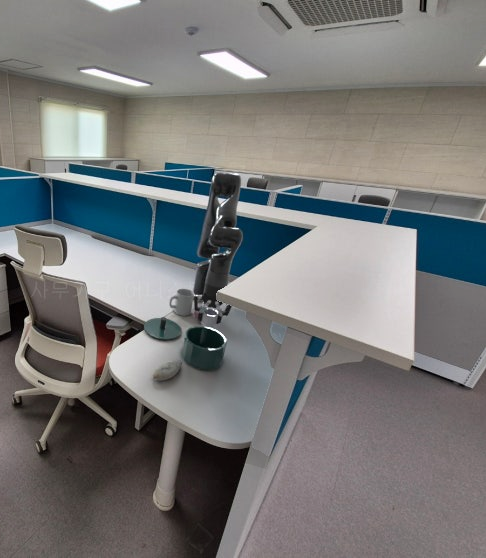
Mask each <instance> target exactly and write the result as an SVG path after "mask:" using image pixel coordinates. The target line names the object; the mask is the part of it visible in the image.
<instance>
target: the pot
mask: <svg viewBox="0 0 486 558" xmlns="http://www.w3.org/2000/svg"><path fill="white" fill-rule="evenodd" d="M227 343H228V342H227V338H226V337H225V336H224V334H223V333H221V332H220V331H218V330H217V329H214V328H213V327H212V328H210V327H206V326H204V325H198V326H197V325H194V326H192V327H189V328H187V330H186V331H185V333H184V338H183V346H182V351H181V355H182V358H183V360H184V361H185V362H186V364H188V365H190V367H193V368H195V369H198V370H201V371H213V370H217V369H218V368H220V367H221V365H222V364H223V361H224V357H225V353H226V348H227Z"/></svg>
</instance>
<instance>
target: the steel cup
mask: <svg viewBox="0 0 486 558" xmlns="http://www.w3.org/2000/svg"><path fill="white" fill-rule="evenodd" d="M218 314H219V313H218V311H217V309H215V308H211V307H207V308H206V309H205V310H204V311H203V314H202V320H201V323H200V324H201V326H204V327H209V328H212V329H213V328H215V327H216V326H217V325H218V324H217V319H218Z"/></svg>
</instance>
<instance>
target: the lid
mask: <svg viewBox="0 0 486 558" xmlns="http://www.w3.org/2000/svg"><path fill="white" fill-rule="evenodd" d="M143 329H144V331H145V333H146V334H148V335H149V336H150V337H152V338H155V339H158V340H164V341H166V340H167V341H170V340H174V339H176V338H178V337H179V336H180V335H181V334H182V328H181V326H180V324H178V323H177V322H176V321H174V320H172V319H169V318H167V317H165V316H161V317H154V318H150V319H148V320H147V321H146V322H145V323H144V324H143Z"/></svg>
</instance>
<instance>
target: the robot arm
mask: <svg viewBox="0 0 486 558" xmlns="http://www.w3.org/2000/svg"><path fill="white" fill-rule="evenodd" d="M241 187H242V177H241V175H240V174H238V173H235V172H233V173H232V172H216V173H214V174H213V176H212V177H211V183H210V188H209V195H208V200H207V201H208V202H207V207H206V210H205V214H204V217H203V222H202V229H201V234H200V237H199V241H198V243H197V246H196V255H197V257H199V258H202V259H206V260H204V261H200V262H198V263H197V265H196V271H195V277H194V284H193V288H192V289H193V290H191V291H192V292H193V293H194V297H193V310H194V311H198V312H199V313H198V320H199V321H201V320H202V314H203V311H204V310H205V309H207V308H211V309H216V311H217V312H218V313H219V314H218V319H217V324H216V325H219V324H222V319H223V317H224V316H225V317H228V316H229V314H230V311H231V310H232V309H231V308H233V305H232V306H230V305H227V304H226V303H225V307H224V310H223V309H222V305H224V303H222V302H219V301H217V300H216V293H217V291H218V290H220V289H222V288H224V287H225V286H227V287H228V284H229V279H230V271H231V266H232V263H233V260H234V257H235V255H236V253H237V251H238V249H239V247H240V246H241V244H242V242H243V239H244V234H243V231H242V230H241V228H239V227H236V226H237V223H238V222H237V221H238V220H237V219H238V218H237V216H238V215H237V210H238V204H239V199H240V195H241V194H240V193H241ZM219 198H225V200H223V201H222V202H221V203H220V201H219ZM220 249H226V250H224V251H220ZM199 303H201V305H199ZM199 306H200V307H199Z"/></svg>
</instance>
